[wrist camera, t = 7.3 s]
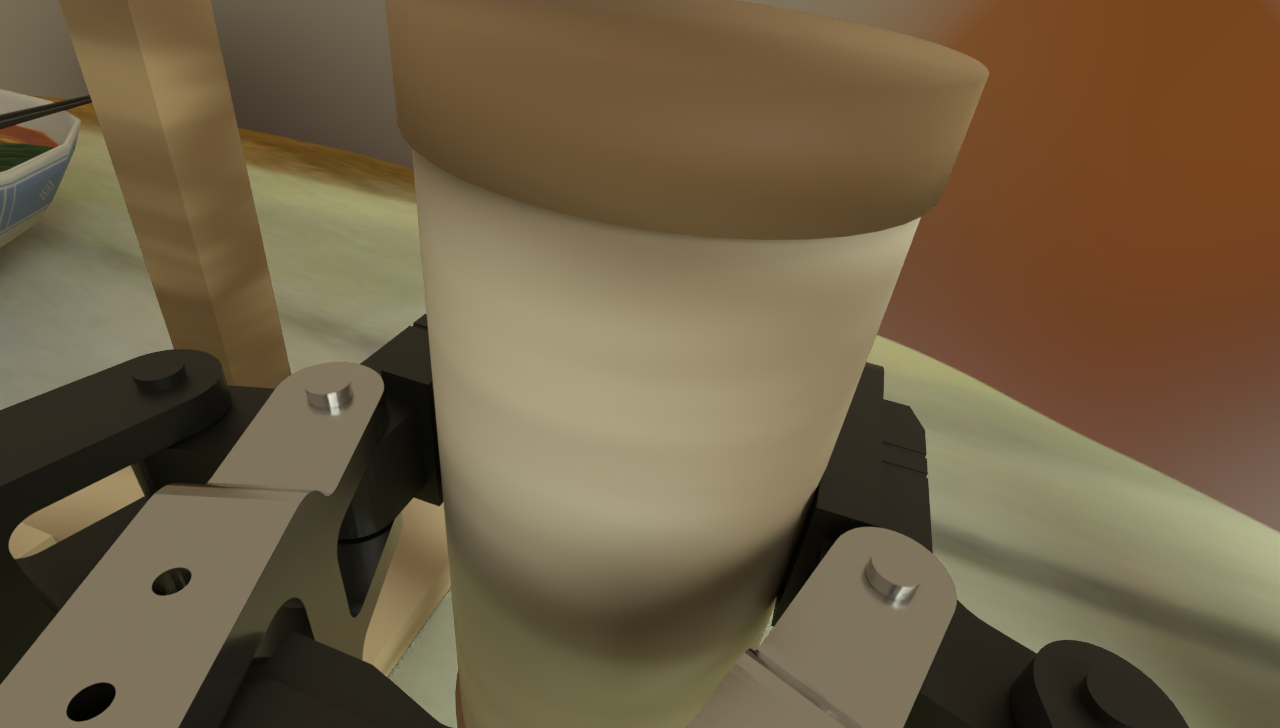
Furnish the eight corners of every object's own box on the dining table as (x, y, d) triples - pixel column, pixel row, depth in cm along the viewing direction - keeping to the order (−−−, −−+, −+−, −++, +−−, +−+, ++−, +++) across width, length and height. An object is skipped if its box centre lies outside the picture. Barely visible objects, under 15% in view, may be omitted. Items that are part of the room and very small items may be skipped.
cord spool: (613, 551, 16) (688, -14, 9) (779, 723, 13) (1084, 70, 6) (409, 679, 13) (286, -36, 6) (565, 945, 10) (687, 116, 3)
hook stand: (162, 995, 14) (-2433, -1519, 2) (-270, 743, 17) (-2456, -902, 4) (512, 499, 27) (527, -195, 15) (237, 403, 30) (52, -250, 17)
